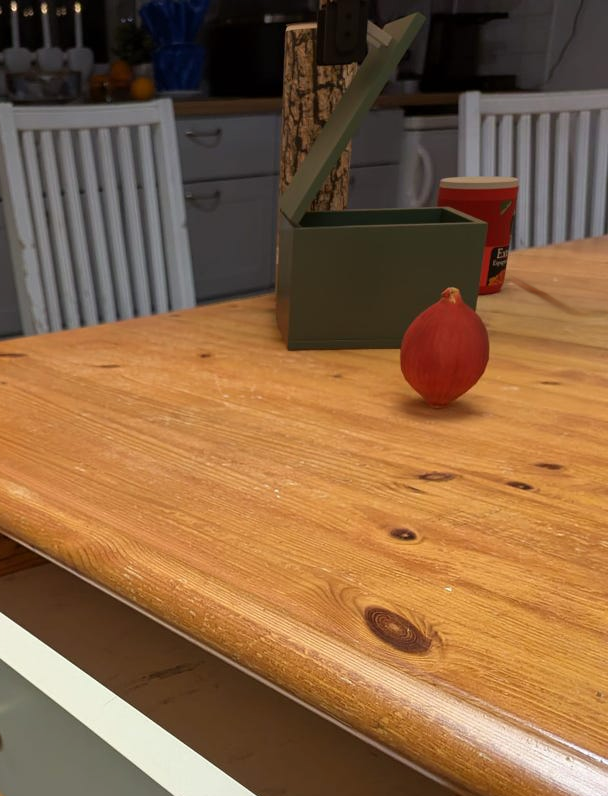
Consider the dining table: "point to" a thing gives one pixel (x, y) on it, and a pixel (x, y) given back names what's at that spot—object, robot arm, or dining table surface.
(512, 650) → the dining table surface
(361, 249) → the bin
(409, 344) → the onion
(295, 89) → the bark log
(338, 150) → the bin lid
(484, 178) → the canned food
